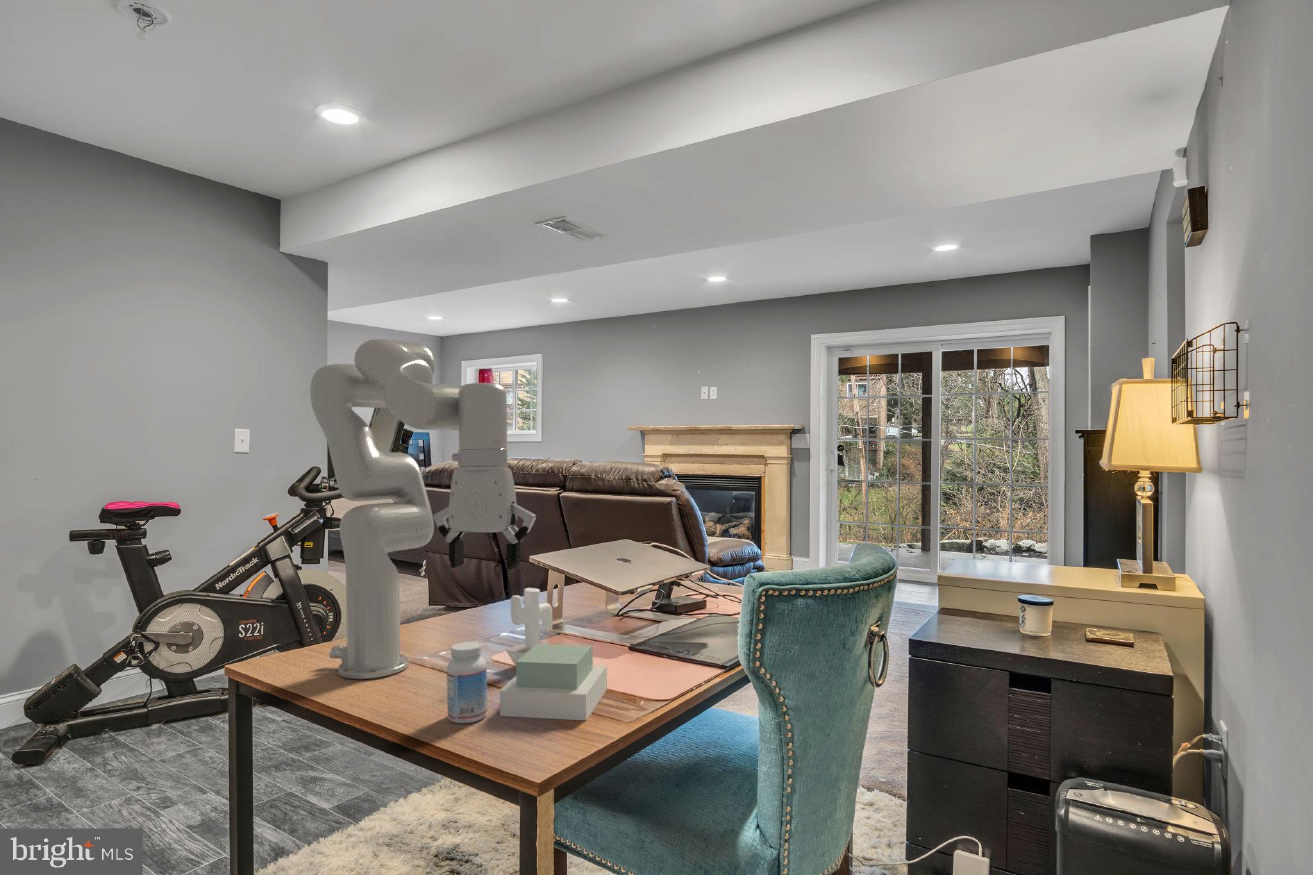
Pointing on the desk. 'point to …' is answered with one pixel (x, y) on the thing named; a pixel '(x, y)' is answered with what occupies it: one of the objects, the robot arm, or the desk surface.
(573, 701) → the base block
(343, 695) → the desk surface
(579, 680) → the top block
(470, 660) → the pill bottle
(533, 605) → the figurine
